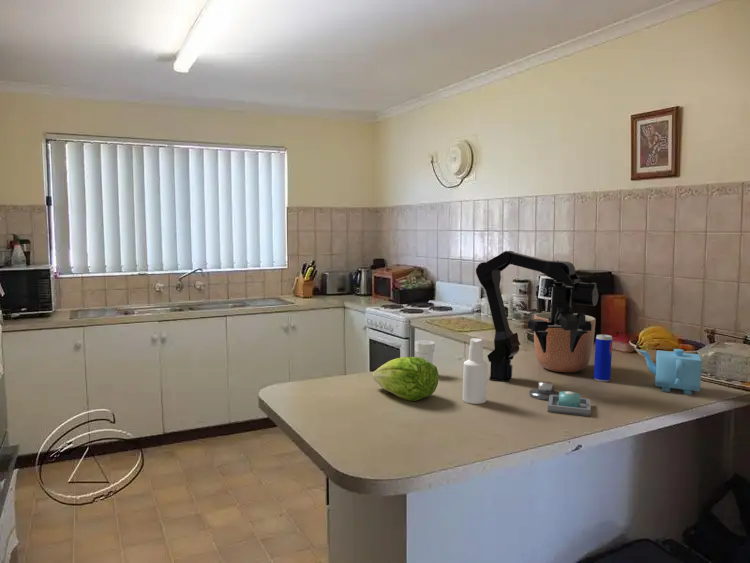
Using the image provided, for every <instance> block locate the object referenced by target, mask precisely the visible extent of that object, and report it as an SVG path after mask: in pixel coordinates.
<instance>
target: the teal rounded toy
mask: <svg viewBox="0 0 750 563" xmlns="http://www.w3.org/2000/svg"><path fill="white" fill-rule="evenodd" d="M558 392H559V406H568V407H577V408H580V398H581V393H578V392H576V391H568V390H566V391H565V390H563V391H558Z"/></svg>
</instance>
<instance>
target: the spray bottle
mask: <svg viewBox="0 0 750 563" xmlns="http://www.w3.org/2000/svg"><path fill="white" fill-rule="evenodd" d="M469 341H470V342H469V348H468V349H469V350H468V359H467V360H465V361H464V362H463V369H462V370H463V371H462V372H463V374H462V376H463V377H462V400H463V402H464V403H467V404H472V405H481V404H484V403H486V402H487V393H488V391H487V388H488V387H487V386H488V363H487V362H486V361H484V347H483V339H482V338H473V337H472V338H470V340H469Z"/></svg>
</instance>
